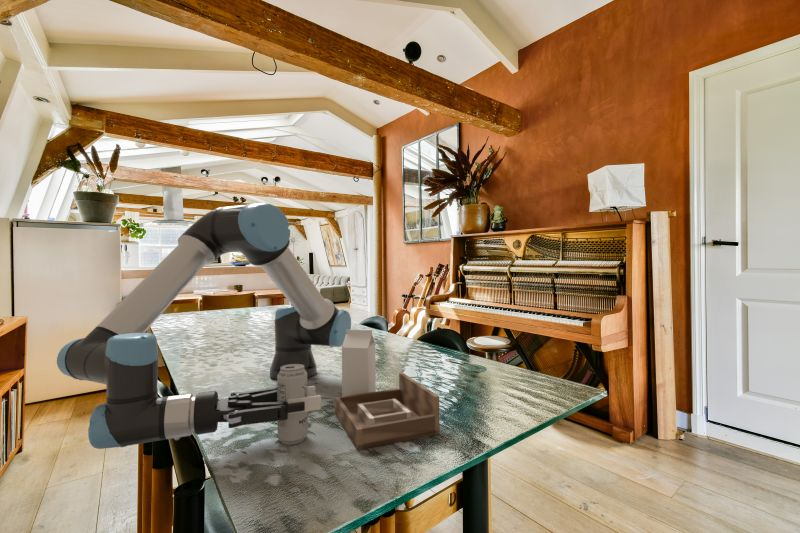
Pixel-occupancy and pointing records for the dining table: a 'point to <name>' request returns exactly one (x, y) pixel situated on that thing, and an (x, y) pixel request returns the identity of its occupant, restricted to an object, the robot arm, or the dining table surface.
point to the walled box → (389, 414)
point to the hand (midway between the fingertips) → (317, 397)
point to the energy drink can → (292, 387)
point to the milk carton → (358, 363)
